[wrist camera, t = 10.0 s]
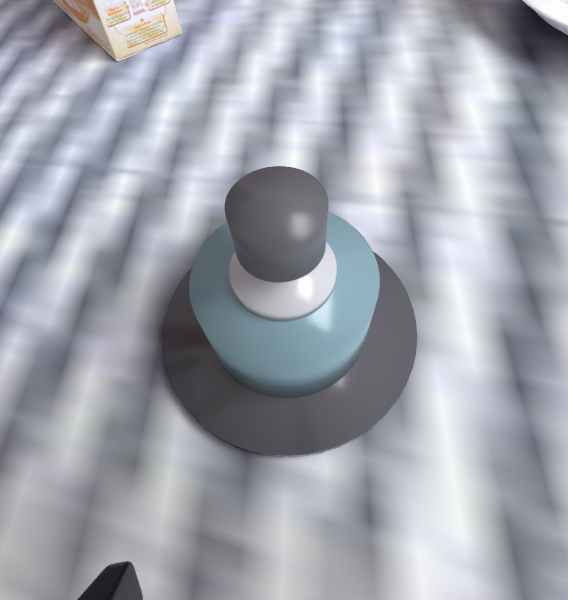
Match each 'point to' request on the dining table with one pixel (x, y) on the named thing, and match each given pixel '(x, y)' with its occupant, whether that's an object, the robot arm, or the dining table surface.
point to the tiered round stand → (290, 346)
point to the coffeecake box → (124, 23)
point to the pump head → (278, 223)
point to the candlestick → (552, 12)
